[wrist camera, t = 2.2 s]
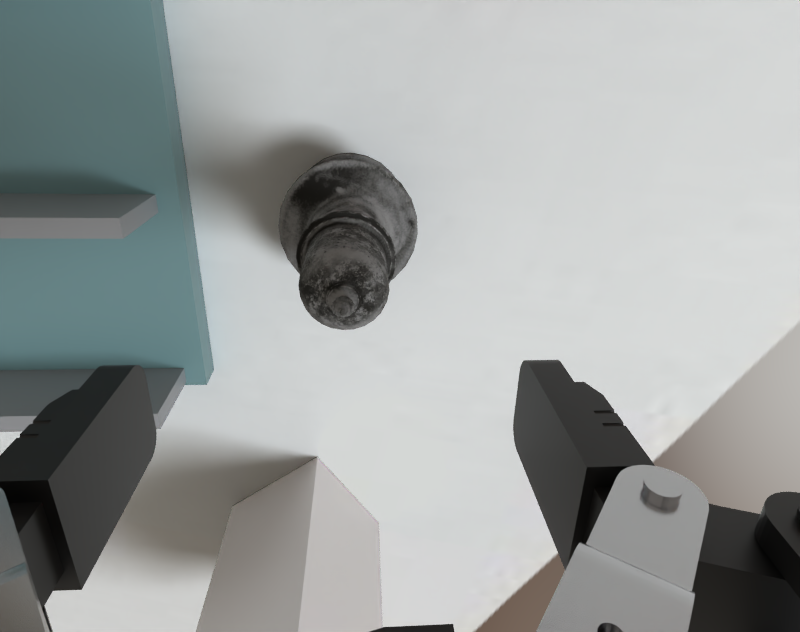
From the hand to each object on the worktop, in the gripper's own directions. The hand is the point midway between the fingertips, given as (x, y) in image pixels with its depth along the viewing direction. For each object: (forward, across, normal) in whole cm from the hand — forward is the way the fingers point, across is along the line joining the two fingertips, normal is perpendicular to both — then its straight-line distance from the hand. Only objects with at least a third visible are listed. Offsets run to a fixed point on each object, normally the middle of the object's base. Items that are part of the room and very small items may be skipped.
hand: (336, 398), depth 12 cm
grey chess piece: (+16, 0, 0) cm, 17 cm away
